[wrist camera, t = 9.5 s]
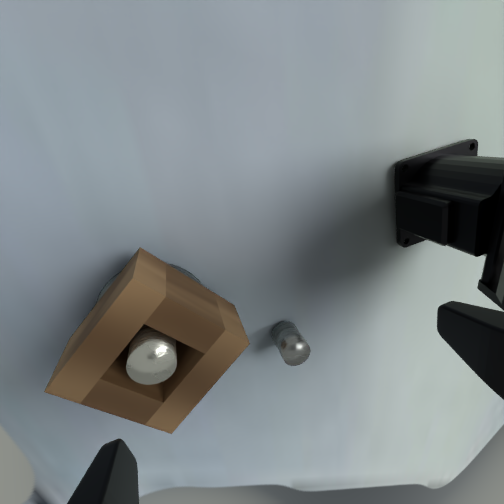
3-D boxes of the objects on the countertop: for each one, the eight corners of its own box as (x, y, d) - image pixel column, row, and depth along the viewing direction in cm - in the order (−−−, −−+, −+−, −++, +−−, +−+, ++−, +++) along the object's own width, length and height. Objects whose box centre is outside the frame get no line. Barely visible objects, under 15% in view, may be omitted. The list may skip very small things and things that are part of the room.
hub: (190, 247, 18) (197, 283, 14) (221, 333, 21) (236, 386, 17) (74, 285, 17) (42, 337, 13) (123, 370, 20) (111, 437, 16)
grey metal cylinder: (293, 317, 22) (308, 337, 20) (298, 337, 23) (312, 359, 21) (269, 327, 22) (281, 348, 20) (274, 347, 23) (286, 369, 21)
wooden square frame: (139, 247, 16) (132, 278, 13) (234, 305, 19) (249, 343, 16) (69, 338, 17) (44, 391, 14) (170, 380, 20) (171, 433, 17)
